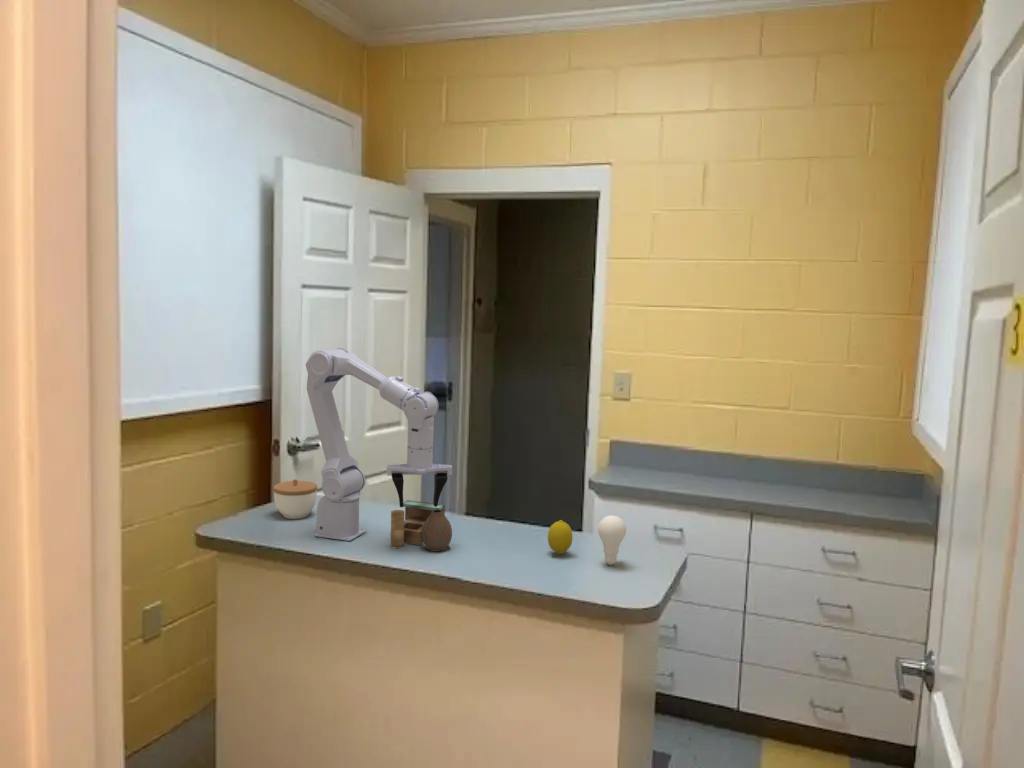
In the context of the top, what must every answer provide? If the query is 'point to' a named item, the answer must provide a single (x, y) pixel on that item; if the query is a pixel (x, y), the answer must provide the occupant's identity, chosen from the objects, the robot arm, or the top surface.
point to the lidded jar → (295, 498)
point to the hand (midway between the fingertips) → (418, 505)
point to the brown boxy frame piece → (417, 519)
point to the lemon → (560, 537)
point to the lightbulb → (611, 536)
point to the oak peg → (397, 528)
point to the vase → (436, 531)
